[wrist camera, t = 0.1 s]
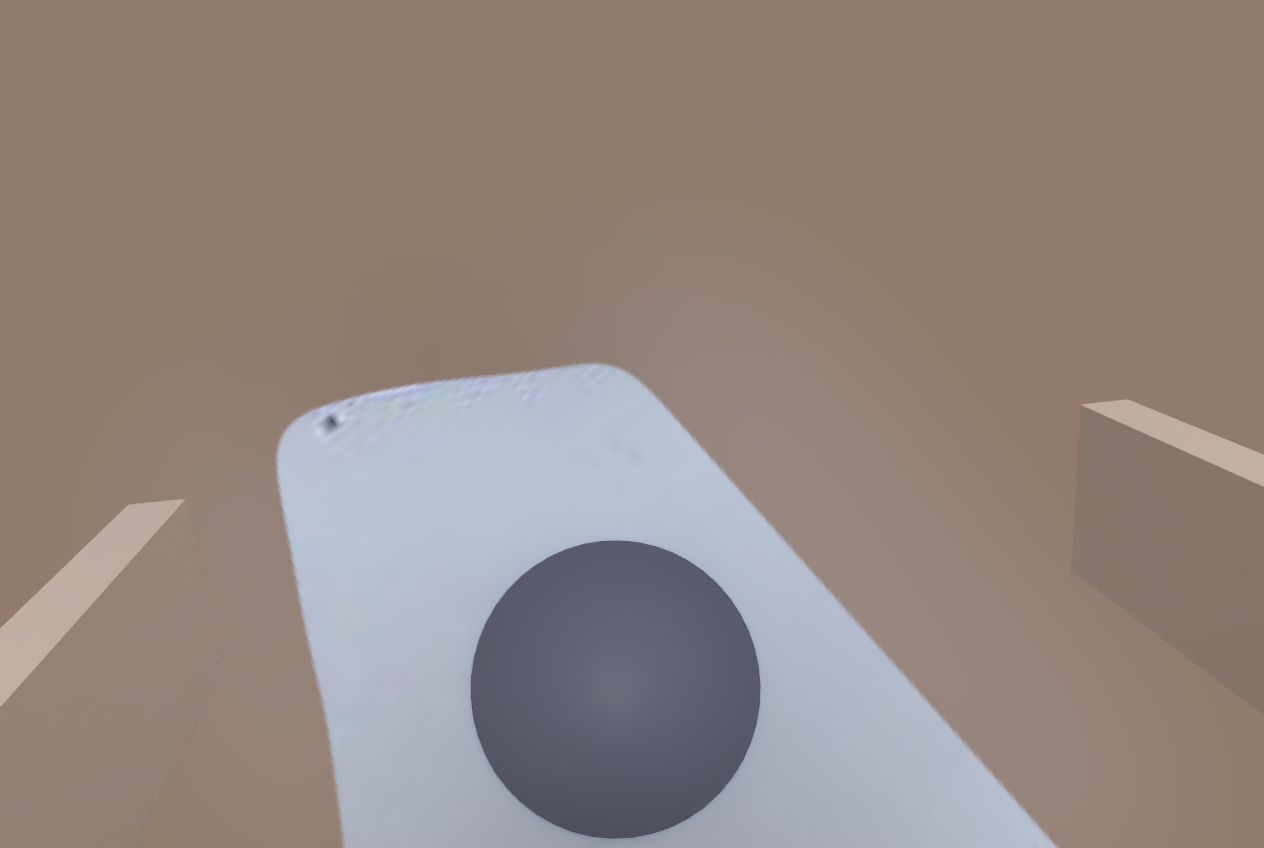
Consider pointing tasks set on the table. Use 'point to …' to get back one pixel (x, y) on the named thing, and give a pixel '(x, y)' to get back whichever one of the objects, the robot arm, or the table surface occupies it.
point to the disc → (615, 689)
